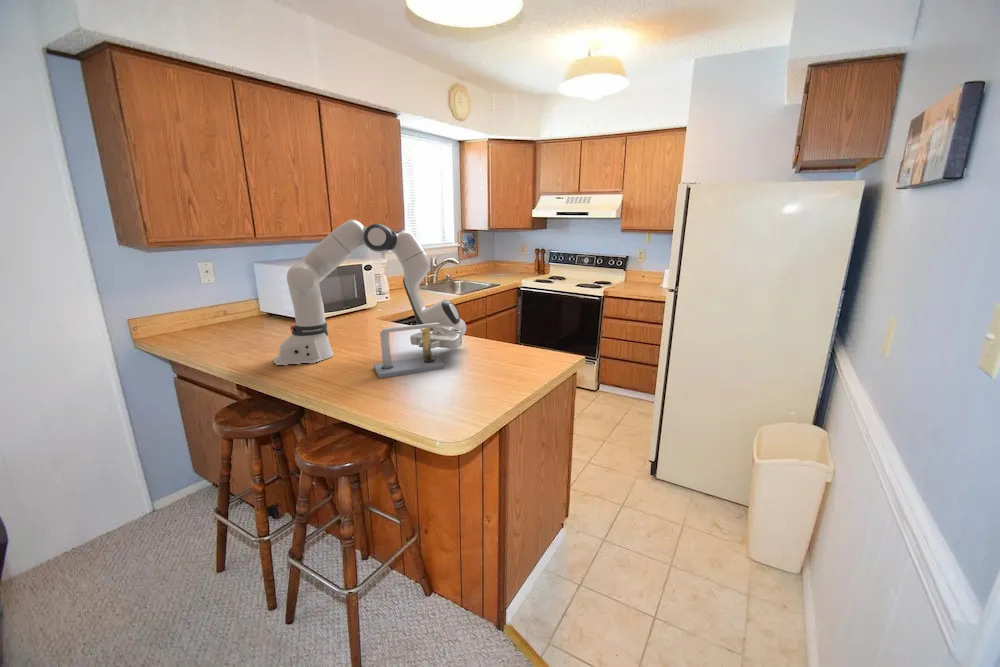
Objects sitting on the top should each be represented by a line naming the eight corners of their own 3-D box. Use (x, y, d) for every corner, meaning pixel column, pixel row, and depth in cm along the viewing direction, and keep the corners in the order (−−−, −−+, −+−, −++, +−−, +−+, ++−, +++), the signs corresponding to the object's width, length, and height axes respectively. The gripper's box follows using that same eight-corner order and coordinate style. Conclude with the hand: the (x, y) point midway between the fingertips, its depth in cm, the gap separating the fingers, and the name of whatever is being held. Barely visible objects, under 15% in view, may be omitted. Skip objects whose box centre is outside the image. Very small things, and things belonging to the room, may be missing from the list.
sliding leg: (424, 362, 162) (422, 330, 159) (422, 359, 165) (420, 328, 162) (432, 360, 164) (430, 329, 160) (430, 358, 166) (428, 327, 163)
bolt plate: (379, 378, 152) (375, 334, 148) (374, 367, 163) (370, 326, 158) (445, 367, 162) (443, 326, 157) (436, 358, 172) (434, 319, 168)
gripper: (420, 327, 177) (401, 335, 165) (464, 330, 170) (448, 340, 158) (421, 341, 179) (402, 351, 166) (465, 346, 172) (449, 356, 159)
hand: (425, 345), depth 162 cm, fingers closed on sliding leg, 3 cm apart
